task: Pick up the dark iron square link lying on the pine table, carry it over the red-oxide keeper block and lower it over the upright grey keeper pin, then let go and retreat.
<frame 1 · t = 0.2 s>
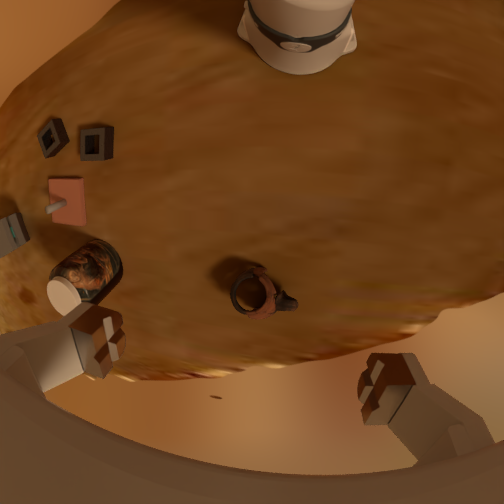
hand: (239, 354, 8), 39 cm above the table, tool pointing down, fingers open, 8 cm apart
link: (101, 143, 44), on the table
pottery mug: (266, 288, 53), on the table
grey lidded box: (17, 231, 56), on the table
keeper: (68, 200, 50), on the table
loose link: (57, 137, 44), on the table
jar: (102, 263, 56), on the table
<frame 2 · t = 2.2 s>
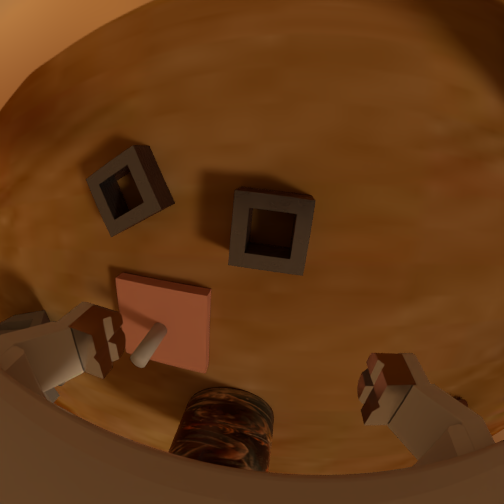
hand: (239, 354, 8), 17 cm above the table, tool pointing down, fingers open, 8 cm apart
link: (272, 225, 24), on the table
grey lidded box: (39, 333, 34), on the table
keeper: (165, 321, 29), on the table
loose link: (137, 188, 25), on the table
jar: (230, 413, 33), on the table
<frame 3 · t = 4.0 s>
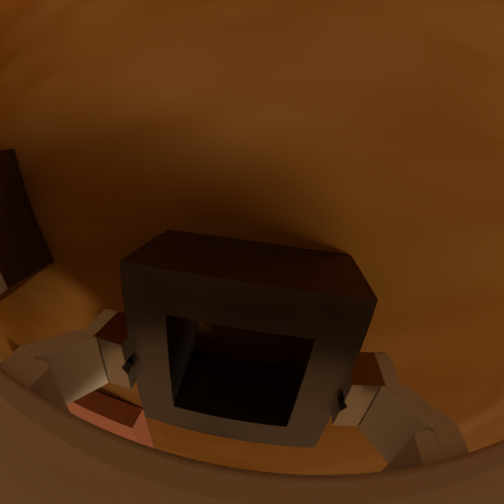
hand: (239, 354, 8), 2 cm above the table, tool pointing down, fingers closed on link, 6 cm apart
link: (247, 323, 10), on the table, touching gripper
keeper: (93, 426, 14), on the table
loose link: (6, 229, 10), on the table
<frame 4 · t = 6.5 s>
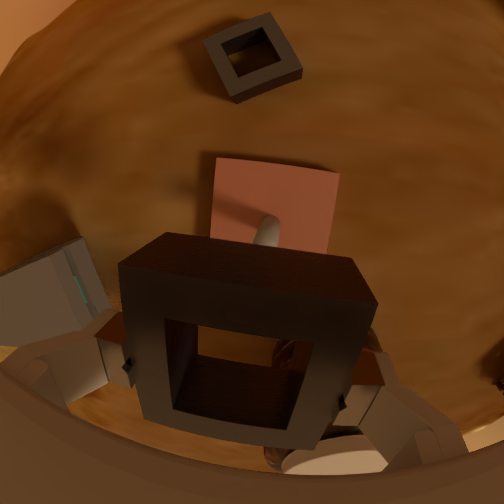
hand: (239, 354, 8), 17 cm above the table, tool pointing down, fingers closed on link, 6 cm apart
link: (247, 325, 10), point 16 cm above the table, touching gripper
grey lidded box: (65, 275, 30), on the table
keeper: (271, 220, 24), on the table
loose link: (254, 62, 20), on the table
jar: (325, 355, 29), on the table
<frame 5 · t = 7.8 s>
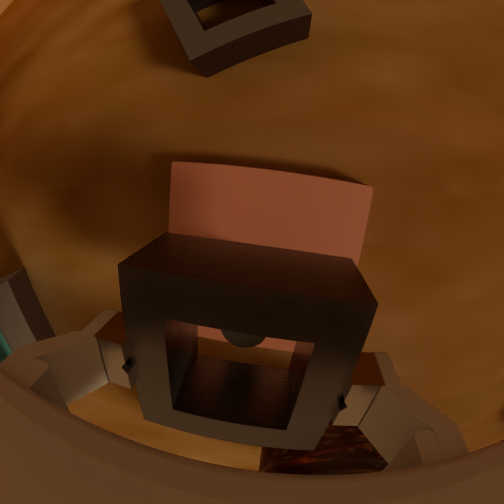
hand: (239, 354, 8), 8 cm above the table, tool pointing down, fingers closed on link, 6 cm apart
link: (247, 325, 10), point 7 cm above the table, touching gripper
grey lidded box: (17, 309, 21), on the table
keeper: (262, 259, 16), on the table
loose link: (236, 18, 11), on the table
jar: (333, 421, 20), on the table
when the fingers open (5 cm above the table, at t = 9.0 s): link drops 1 cm, resting on keeper.
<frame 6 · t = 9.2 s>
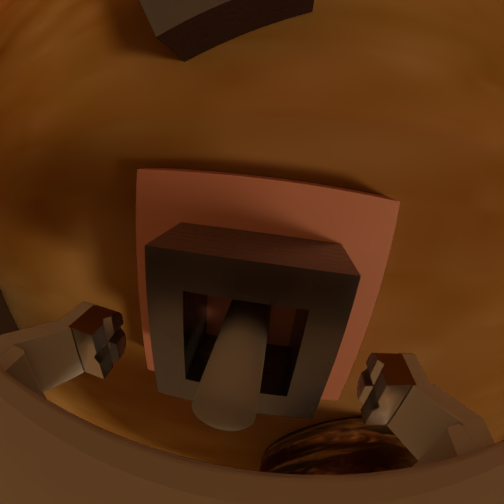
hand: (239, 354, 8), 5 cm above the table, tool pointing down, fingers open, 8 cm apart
link: (251, 305, 11), point 1 cm above the table, touching keeper
keeper: (255, 290, 13), on the table
jar: (336, 455, 17), on the table
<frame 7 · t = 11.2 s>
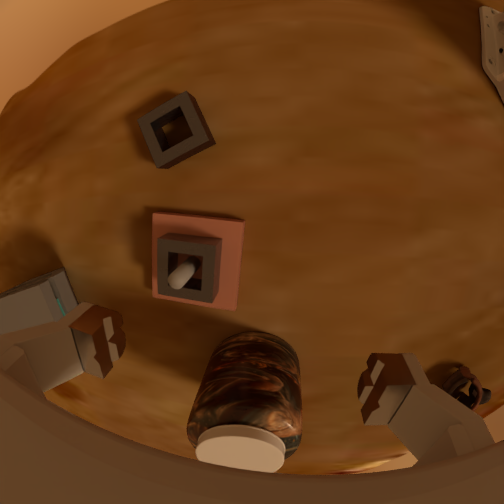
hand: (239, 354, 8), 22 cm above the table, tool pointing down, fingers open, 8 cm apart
link: (193, 262, 30), point 1 cm above the table, touching keeper
pottery mug: (455, 385, 34), on the table
grey lidded box: (53, 296, 36), on the table
keeper: (197, 259, 31), on the table
loose link: (181, 132, 28), on the table
jar: (254, 366, 35), on the table
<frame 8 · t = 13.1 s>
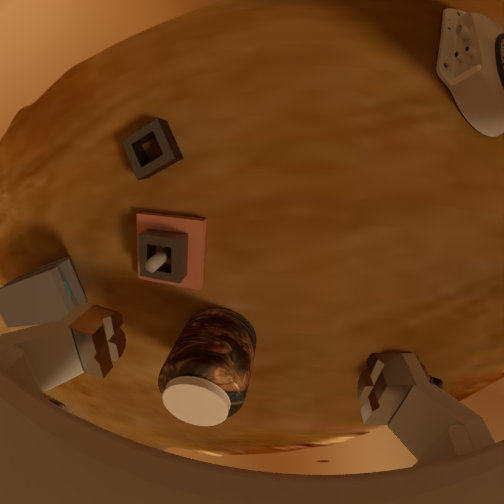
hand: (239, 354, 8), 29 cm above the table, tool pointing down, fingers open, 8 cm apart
link: (167, 251, 38), point 1 cm above the table, touching keeper
pottery mug: (408, 372, 42), on the table
grey lidded box: (60, 279, 45), on the table
keeper: (171, 248, 39), on the table
loose link: (156, 149, 35), on the table
jar: (220, 337, 44), on the table
flask: (58, 403, 62), on the table
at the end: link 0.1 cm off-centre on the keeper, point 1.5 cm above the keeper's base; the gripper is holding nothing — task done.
